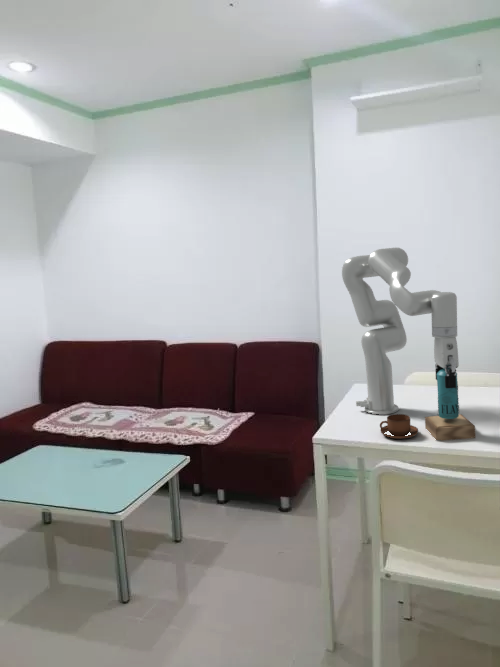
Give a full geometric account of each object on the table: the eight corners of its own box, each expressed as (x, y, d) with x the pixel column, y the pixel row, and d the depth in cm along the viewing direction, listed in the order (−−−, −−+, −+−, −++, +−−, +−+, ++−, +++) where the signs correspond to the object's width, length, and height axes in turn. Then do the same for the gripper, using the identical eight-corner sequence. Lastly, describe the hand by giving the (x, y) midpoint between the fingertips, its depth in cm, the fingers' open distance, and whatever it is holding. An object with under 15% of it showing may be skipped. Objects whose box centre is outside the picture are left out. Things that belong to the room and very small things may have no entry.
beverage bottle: (438, 423, 164) (435, 362, 161) (437, 417, 170) (434, 358, 167) (460, 423, 162) (458, 361, 159) (458, 417, 168) (456, 357, 166)
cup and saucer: (393, 444, 162) (392, 425, 161) (374, 433, 174) (372, 415, 173) (426, 437, 165) (425, 419, 165) (404, 427, 177) (403, 409, 176)
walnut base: (436, 440, 161) (435, 427, 161) (425, 428, 173) (424, 416, 172) (475, 438, 160) (474, 424, 160) (461, 425, 172) (461, 413, 172)
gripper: (466, 335, 154) (467, 390, 156) (447, 326, 171) (448, 376, 173) (440, 337, 154) (442, 392, 157) (424, 328, 171) (426, 377, 174)
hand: (445, 383), depth 165 cm, fingers open, 9 cm apart
